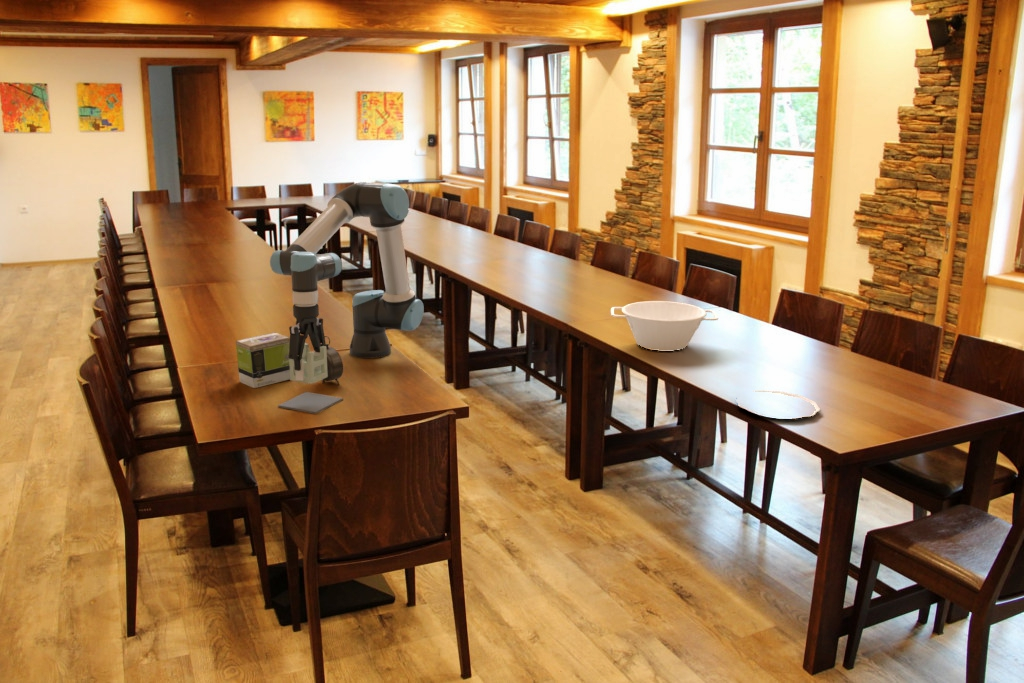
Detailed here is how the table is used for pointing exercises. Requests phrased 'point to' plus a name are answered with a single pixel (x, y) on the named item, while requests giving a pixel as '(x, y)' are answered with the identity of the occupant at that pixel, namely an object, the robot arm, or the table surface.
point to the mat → (310, 402)
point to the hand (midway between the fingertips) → (308, 376)
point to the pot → (663, 323)
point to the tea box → (263, 359)
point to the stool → (311, 366)
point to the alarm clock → (333, 364)
